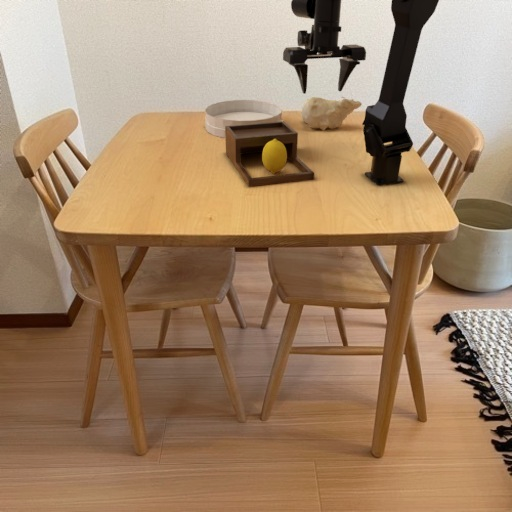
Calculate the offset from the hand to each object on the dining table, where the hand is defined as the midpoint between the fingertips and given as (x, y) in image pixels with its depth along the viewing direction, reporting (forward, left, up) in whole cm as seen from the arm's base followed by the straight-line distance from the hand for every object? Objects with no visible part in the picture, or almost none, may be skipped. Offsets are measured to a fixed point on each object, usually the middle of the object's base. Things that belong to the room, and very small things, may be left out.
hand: (322, 92), depth 116 cm
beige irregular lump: (+16, -10, -14) cm, 24 cm away
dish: (+22, +14, -14) cm, 30 cm away
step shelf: (-8, +16, -14) cm, 23 cm away
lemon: (-13, +16, -14) cm, 25 cm away
